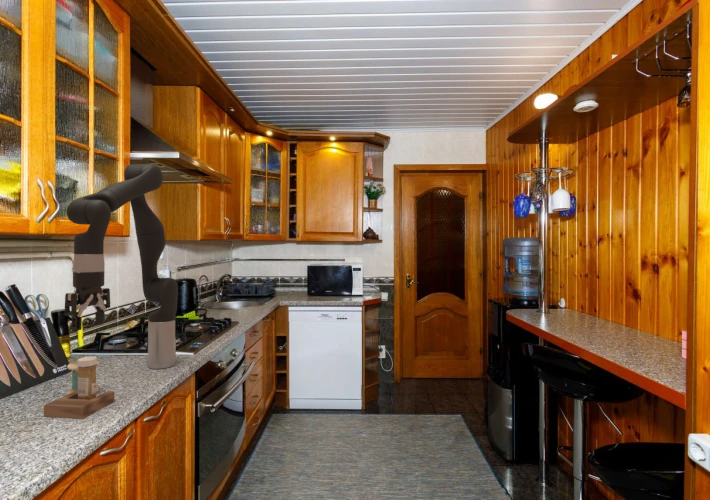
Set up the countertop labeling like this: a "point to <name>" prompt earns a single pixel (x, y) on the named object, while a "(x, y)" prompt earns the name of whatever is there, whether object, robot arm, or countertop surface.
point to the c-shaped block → (77, 405)
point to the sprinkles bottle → (87, 378)
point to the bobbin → (76, 376)
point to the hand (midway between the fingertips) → (88, 327)
